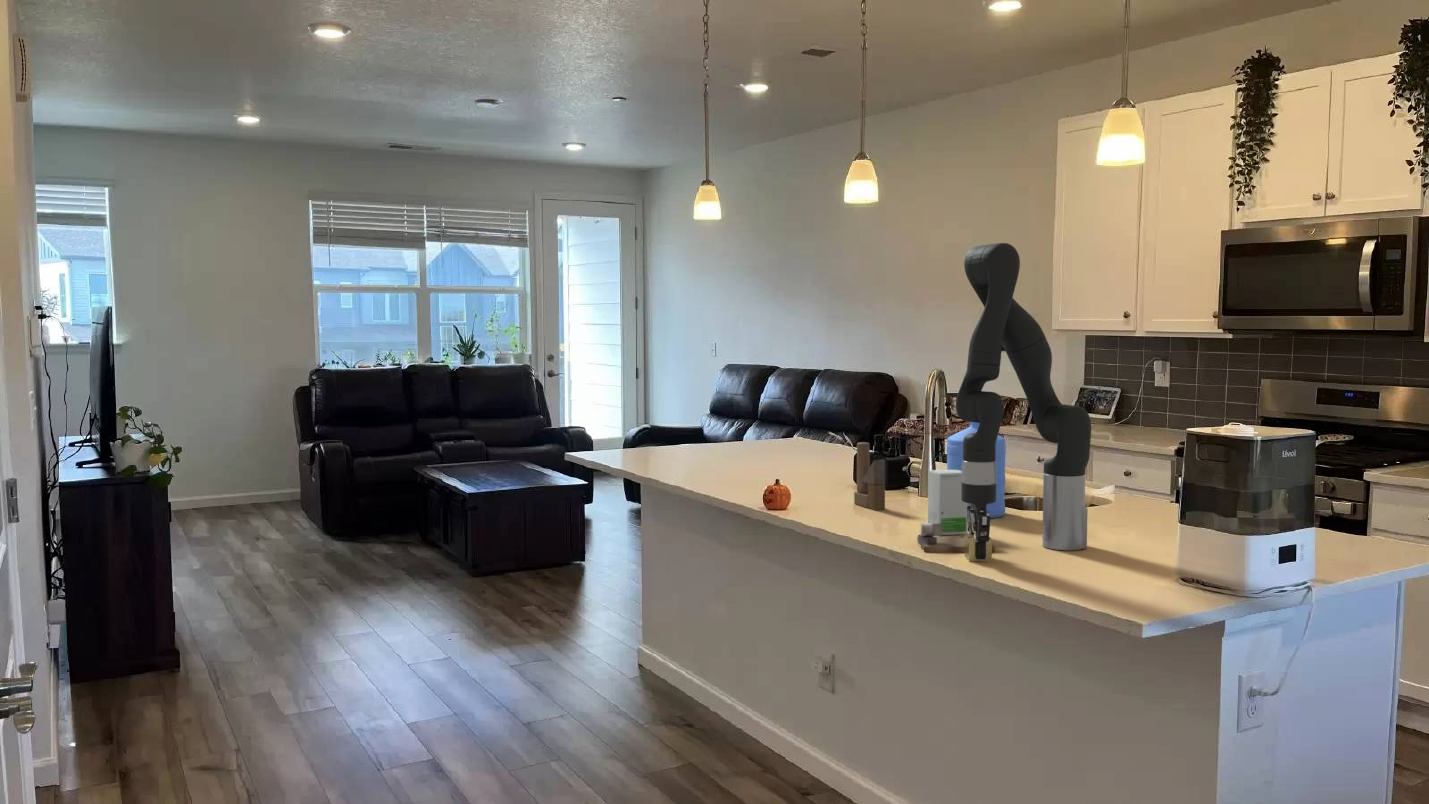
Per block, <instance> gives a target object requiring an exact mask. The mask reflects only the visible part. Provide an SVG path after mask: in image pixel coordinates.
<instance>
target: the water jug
mask: <svg viewBox="0 0 1429 804" xmlns="http://www.w3.org/2000/svg"><path fill="white" fill-rule="evenodd" d="M969 424H970V425H969V426H968V427H967V428H964V429H963V430H961V431H959V432H956V433H954V434H952V435H950V436H948V437H947V439H946V470H960V471H962V464H963V440H964V437H965V436H966V435H968V434H971V433H976V432H977V430H978V428H979V424H980V423H976V422H970V423H969ZM1006 453H1007V446H1006V439H1005V438H1004V436H1001V435H999V434H998V436H997V440H996V457H995V463H996V501H995V502H994V503H992V504H987V505H986V507H987V511H989V516H990V518H991V519H995V518H1001V517H1003V516H1004V515H1005V513H1006V505H1005V501H1006V500H1005V497H1006V496H1005V495H1006V494H1005V493H1006V492H1005V489H1006V488H1005V486H1006ZM970 505H971V504H969V503H968V506H970Z"/></svg>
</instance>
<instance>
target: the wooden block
mask: <svg viewBox="0 0 1429 804" xmlns="http://www.w3.org/2000/svg"><path fill="white" fill-rule="evenodd" d="M870 453H871V452H870V443H869V442H864V441H863V442H861V441H860V442H857V443H856V491H854V493H853V495H854V499H853V500H854V503H853V504H855V505H856V504H857V505H856V506H859V507H864V508H866V507H867V509H869V510H872V509H873V511H881V509H882V510H885V509H886V486H885V485H886V459H876V460H875V459H874V460H873V462H872V463H871V464H870V456H871V455H870Z"/></svg>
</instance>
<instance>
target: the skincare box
mask: <svg viewBox="0 0 1429 804" xmlns="http://www.w3.org/2000/svg"><path fill="white" fill-rule="evenodd" d="M927 472H928V490H927V491H928V492H927V493H928V494H927V495H928V497H927V502H928V503H927V523H941V524H942V536H949V535H951V536H952V535H954V536H955V535H965V534H969V532H968V517H967V506H968V503H965V502H963V501H962V500H961V476H962V471H960V470H947V469H931V470H928V471H927Z"/></svg>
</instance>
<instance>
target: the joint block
mask: <svg viewBox="0 0 1429 804" xmlns="http://www.w3.org/2000/svg"><path fill="white" fill-rule="evenodd" d="M980 536H984V534H980ZM964 537H965V552H964V557H965V559H966V560H967V561H968V560H969V561H968V562H975V561H993V559H992V558H993V557H992V556H993V552H992V545H993V538H991V536H989V541H987V543H986V558H985V559H976V558H975V534H969V533H967V534H964Z"/></svg>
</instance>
